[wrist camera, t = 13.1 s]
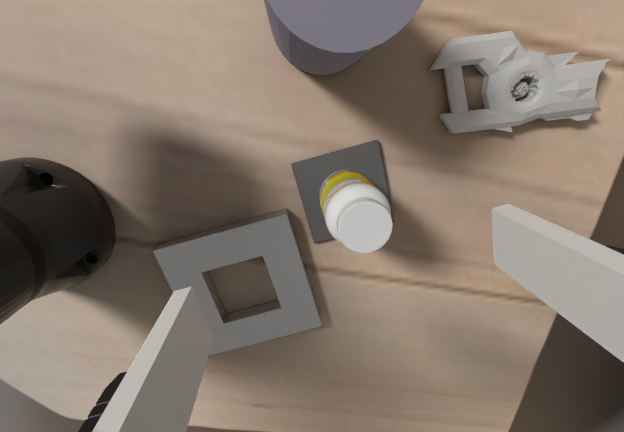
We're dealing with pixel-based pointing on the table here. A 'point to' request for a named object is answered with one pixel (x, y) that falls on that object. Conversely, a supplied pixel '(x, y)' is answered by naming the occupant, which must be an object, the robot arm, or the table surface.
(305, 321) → the housing plate
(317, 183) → the rubber mat
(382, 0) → the container
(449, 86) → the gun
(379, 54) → the table surface
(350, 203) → the pill bottle
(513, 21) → the table surface
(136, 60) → the table surface
